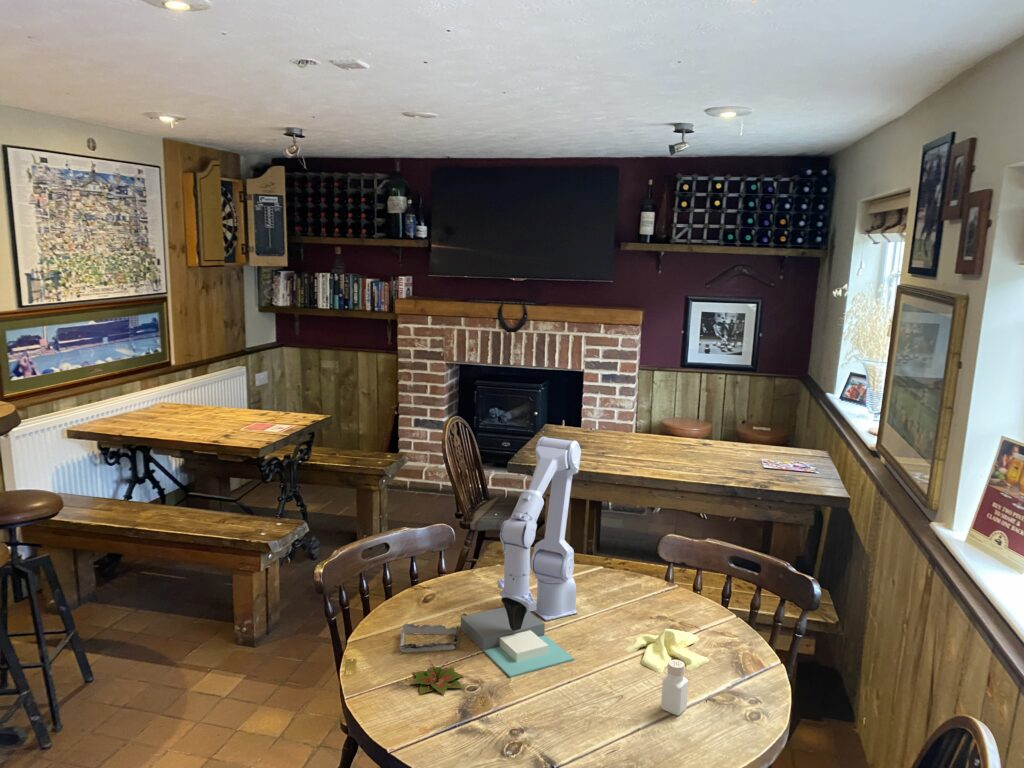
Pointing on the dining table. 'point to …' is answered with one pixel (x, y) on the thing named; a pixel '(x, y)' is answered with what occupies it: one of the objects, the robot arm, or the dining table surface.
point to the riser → (496, 627)
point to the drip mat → (522, 667)
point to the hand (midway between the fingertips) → (515, 628)
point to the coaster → (523, 645)
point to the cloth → (667, 649)
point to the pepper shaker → (675, 688)
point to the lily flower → (437, 679)
